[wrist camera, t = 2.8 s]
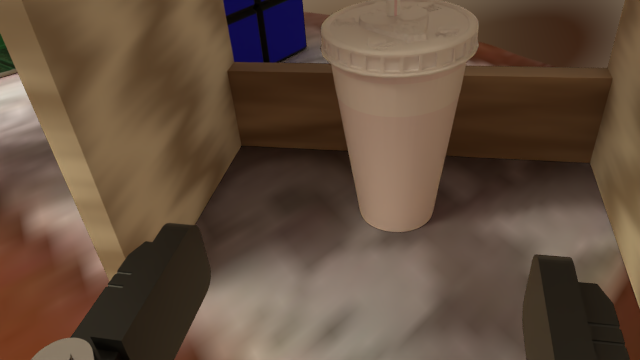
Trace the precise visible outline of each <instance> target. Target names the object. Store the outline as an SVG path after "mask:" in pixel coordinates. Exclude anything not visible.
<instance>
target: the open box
mask: <svg viewBox="0 0 640 360" xmlns="http://www.w3.org/2000/svg"><path fill="white" fill-rule="evenodd" d="M0 34H1V36H2V38H3V41H4V43H5V45H6V47H7V50H8V52H9V54H10V56H11V59H12V61H13V63H14V65H15V68H16V70H17V72H18V75H19V77H20V79H21V81H22V84H23V86H24V88H25V90H26V93H27V95H28V97H29V99H30V102H31V104H32V106H33V109H34V111H35V113H36V115H37V118H38V120H39V122H40V124H41V127H42V129H43V131H44V133H45V136H46V138H47V140H48V143H49V145H50V147H51V149H52V152H53V154H54V156H55V158H56V161H57V163H58V165H59V168H60V170H61V172H62V174H63V177H64V179H65V181H66V183H67V186H68V188H69V190H70V192H71V195H72V197H73V199H74V202H75V204H76V206H77V208H78V211H79V213H80V215H81V217H82V220H83V222H84V224H85V226H86V229H87V231H88V233H89V236H90V238H91V240H92V242H93V245H94V247H95V249H96V251H97V254H98V256H99V258H100V261H101V263H102V265H103V267H104V270H105V272H106V274H107V276H108V279H109V281H110V280H111V279H112V277H113V276H114V275H115V274H117V270H118V269H119V267H120V266H121V264H122V263H123V262H124V260H125V259H126V257H127V256H128V255H129V254H130V253H131V252H132V251H134V250H135V249H136V248H138V247H139V246H140V245H141V244H143V243H144V242H145V241H148V242H153V240H154V239H155V237H156V236H157V234H158V233H159V231H160V230H161V228H162V227H163V226H164V225H165V224H166V223H176V224H188V225H195V223H196V222H197V220H198V218H199V216H200V215H201V213H202V211H203V210H204V208H205V206H206V205H207V203H208V201H209V200H210V198H211V196H212V194H213V193H214V191H215V189H216V188H217V186H218V184H219V183H220V181H221V179H222V178H223V176H224V174H225V173H226V171H227V169H228V167H229V166H230V164H231V162H232V161H233V159H234V157H235V156H236V154H237V152H238V151H239V149H240V147H241V146H261V147H281V148H301V149H321V150H341V151H348V148H347V143H346V138H345V133H344V128H343V123H342V118H341V113H340V108H339V102H338V97H337V93H336V89H335V83H334V77H333V72H332V66H331V64H325V63H261V62H234V58H233V53H232V47H231V42H230V36H229V31H228V25H227V20H226V14H225V9H224V3H223V0H0ZM446 156H461V157H481V158H501V159H521V160H541V161H561V162H581V163H590V164H591V167H592V170H593V173H594V176H595V179H596V182H597V185H598V188H599V191H600V194H601V197H602V200H603V203H604V206H605V208H606V211H607V214H608V217H609V220H610V223H611V226H612V229H613V232H614V235H615V238H616V241H617V244H618V247H619V250H620V253H621V256H622V258H623V261H624V264H625V267H626V270H627V273H628V276H629V279H630V282H631V285H632V288H633V291H634V294H635V297H636V300H637V303H638V306H639V308H640V0H625V2H624V6H623V10H622V14H621V18H620V21H619V25H618V29H617V33H616V37H615V41H614V45H613V48H612V52H611V56H610V60H609V64H608V68H579V67H515V66H466V67H465V72H464V77H463V81H462V86H461V91H460V94H459V99H458V103H457V107H456V112H455V116H454V121H453V125H452V130H451V134H450V138H449V143H448V147H447V152H446Z"/></svg>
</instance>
